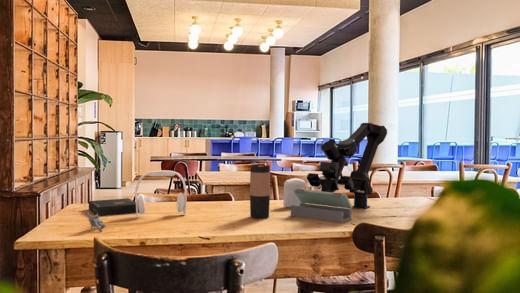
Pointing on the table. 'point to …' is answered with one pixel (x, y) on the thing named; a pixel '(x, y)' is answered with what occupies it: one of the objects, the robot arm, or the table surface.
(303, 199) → the duct cover
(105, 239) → the table surface
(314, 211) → the cable duct
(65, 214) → the table surface
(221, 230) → the table surface
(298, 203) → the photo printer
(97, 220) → the elephant figurine
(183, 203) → the headset
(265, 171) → the travel mug
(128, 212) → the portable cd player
